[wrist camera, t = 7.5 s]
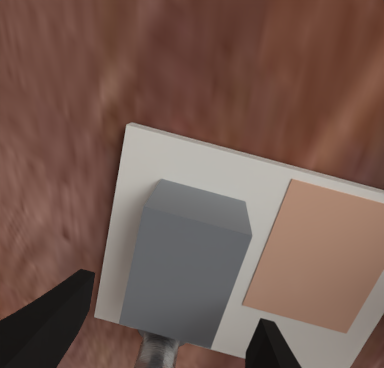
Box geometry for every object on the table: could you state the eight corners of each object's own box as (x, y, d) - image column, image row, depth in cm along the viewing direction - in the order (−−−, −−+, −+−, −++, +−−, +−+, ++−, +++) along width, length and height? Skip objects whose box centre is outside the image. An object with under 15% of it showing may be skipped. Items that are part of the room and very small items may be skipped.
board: (434, 203, 16) (448, 211, 15) (328, 380, 21) (333, 395, 20) (131, 122, 17) (125, 124, 15) (97, 317, 22) (91, 328, 21)
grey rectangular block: (245, 201, 16) (252, 235, 13) (212, 295, 19) (210, 349, 15) (161, 178, 16) (143, 206, 13) (139, 275, 19) (118, 323, 15)
